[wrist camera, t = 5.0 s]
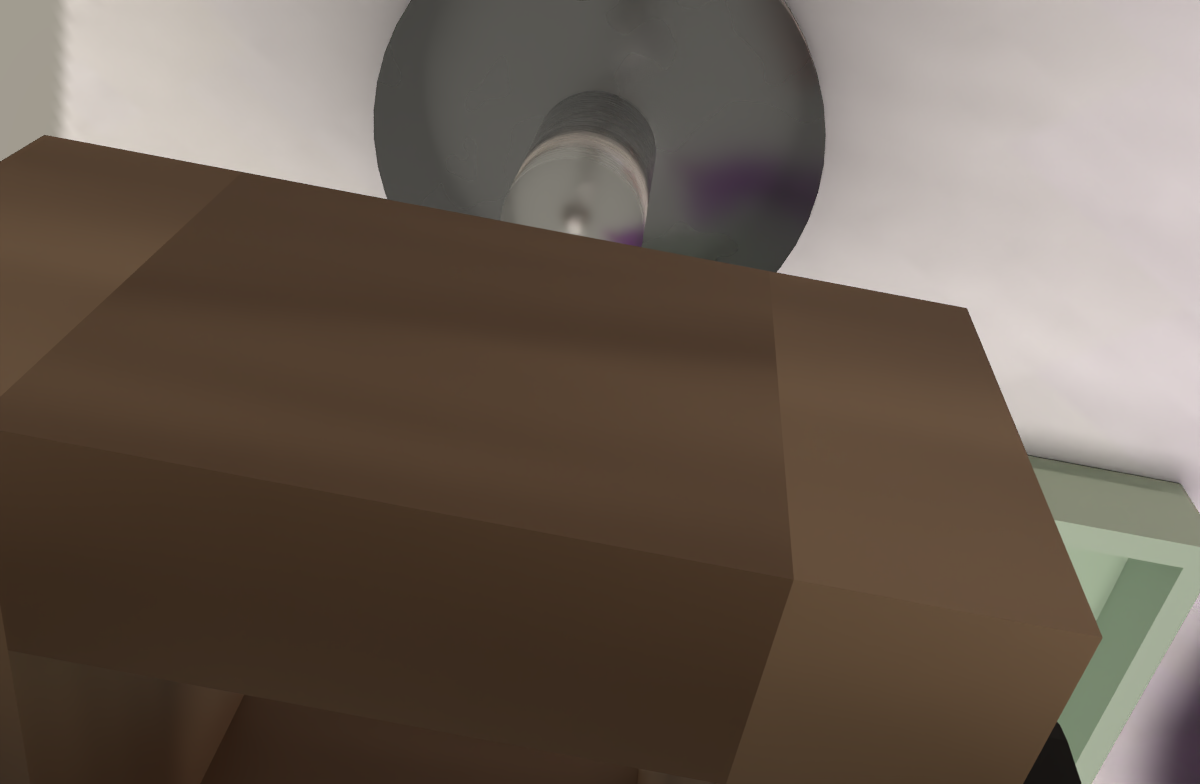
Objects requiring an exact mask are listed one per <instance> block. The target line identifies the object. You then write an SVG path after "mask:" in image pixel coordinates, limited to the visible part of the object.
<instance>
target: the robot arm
mask: <svg viewBox="0 0 1200 784" xmlns="http://www.w3.org/2000/svg"><path fill="white" fill-rule="evenodd" d="M1023 784H1082V783H1081V780H1080V777H1079V774H1078V771H1077V768H1076V765H1075V762H1074V759H1073V756H1072V753H1071V750H1070V747H1069V744H1068V741H1067V739H1066V737H1065V734H1064V732H1063V730H1062V728H1061V726H1060V724H1059V723H1058V722H1056V724H1055V726H1054V728H1053V730H1052V732H1051V733H1050V735H1049V737H1048V739H1047V741H1046V743H1045V744H1044V746H1043V748H1042V750H1041V752H1040V754H1039V755H1038V757H1037V759H1036V761H1035V763H1034V765H1033V767H1032V768H1031V770H1030V772H1029V774H1028V776H1027V778H1026V779H1025V781H1024V783H1023Z"/></svg>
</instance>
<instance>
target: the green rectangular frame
mask: <svg viewBox="0 0 1200 784" xmlns="http://www.w3.org/2000/svg"><path fill="white" fill-rule="evenodd" d="M1028 458H1029V460H1030V463H1031V465H1032V468H1033V470H1034V472H1035V475H1036V477H1037V480H1038V482H1039V484H1040V487H1041V489H1042V492H1043V494H1044V497H1045V499H1046V501H1047V504H1048V506H1049V509H1050V511H1051V514H1052V516H1053V518H1054V521H1055V523H1056V526H1057V528H1058V531H1059V533H1060V535H1061V538H1062V540H1063V543H1064V545H1065V547H1066V550H1067V552H1068V555H1069V557H1070V560H1071V562H1072V564H1073V567H1074V569H1075V572H1076V574H1077V577H1078V579H1079V581H1080V584H1081V586H1082V589H1083V591H1084V593H1085V596H1086V598H1087V601H1088V603H1089V606H1090V608H1091V610H1092V613H1093V615H1094V618H1095V620H1096V623H1097V625H1098V627H1099V630H1100V632H1101V635H1102V637H1103V638H1102V640H1101V642H1100V644H1099V645H1098V647H1097V649H1096V651H1095V653H1094V655H1093V656H1092V658H1091V660H1090V662H1089V664H1088V666H1087V667H1086V669H1085V671H1084V673H1083V675H1082V677H1081V678H1080V680H1079V682H1078V684H1077V686H1076V688H1075V689H1074V691H1073V693H1072V695H1071V697H1070V699H1069V700H1068V702H1067V704H1066V706H1065V708H1064V710H1063V711H1062V713H1061V715H1060V717H1059V719H1058V721H1057V722H1058V723H1059V724H1060V726H1061V728H1062V730H1063V732H1064V734H1065V737H1066V739H1067V741H1068V744H1069V747H1070V750H1071V753H1072V756H1073V759H1074V762H1075V765H1076V768H1077V771H1078V774H1079V777H1080V780H1081V783H1082V784H1092V782H1093V780H1094V778H1095V777H1096V775H1097V773H1098V771H1099V769H1100V768H1101V766H1102V764H1103V762H1104V761H1105V759H1106V757H1107V755H1108V754H1109V752H1110V750H1111V748H1112V747H1113V745H1114V743H1115V741H1116V740H1117V738H1118V736H1119V734H1120V733H1121V731H1122V729H1123V727H1124V725H1125V724H1126V722H1127V720H1128V718H1129V717H1130V715H1131V713H1132V711H1133V710H1134V708H1135V706H1136V704H1137V703H1138V701H1139V699H1140V697H1141V696H1142V694H1143V692H1144V690H1145V689H1146V687H1147V685H1148V683H1149V681H1150V680H1151V678H1152V676H1153V674H1154V673H1155V671H1156V669H1157V667H1158V666H1159V664H1160V662H1161V660H1162V659H1163V657H1164V655H1165V653H1166V652H1167V650H1168V648H1169V646H1170V644H1171V643H1172V641H1173V639H1174V637H1175V636H1176V634H1177V632H1178V630H1179V629H1180V627H1181V625H1182V623H1183V622H1184V620H1185V618H1186V616H1187V615H1188V613H1189V611H1190V609H1191V608H1192V606H1193V604H1194V602H1195V600H1196V599H1197V597H1198V595H1199V593H1200V514H1199V512H1198V510H1197V509H1196V507H1195V506H1194V504H1193V502H1192V501H1191V499H1190V498H1189V496H1188V494H1187V493H1186V491H1185V490H1184V488H1183V487H1182V485H1181V484H1178V483H1172V482H1167V481H1162V480H1156V479H1151V478H1146V477H1140V476H1135V475H1129V474H1124V473H1119V472H1113V471H1108V470H1103V469H1097V468H1092V467H1086V466H1081V465H1076V464H1070V463H1065V462H1059V461H1054V460H1049V459H1043V458H1038V457H1033V456H1028Z"/></svg>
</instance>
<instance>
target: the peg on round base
mask: <svg viewBox="0 0 1200 784" xmlns="http://www.w3.org/2000/svg"><path fill="white" fill-rule="evenodd" d="M825 135H826V134H825V120H824V106H823V100H822V96H821V91H820V86H819V81H818V77H817V73H816V69H815V66H814V63H813V60H812V58H811V55H810V52H809V49H808V46H807V44H806V41H805V38H804V36H803V34H802V32H801V30H800V28H799V26H798V24H797V22H796V20H795V18H794V16H793V15H792V13H791V11H790V9H789V7H788V6H787V5H786V3H785V2H784V0H411V1H410V3H409V5H408V7H407V8H406V10H405V12H404V13H403V15H402V17H401V18H400V20H399V22H398V23H397V25H396V27H395V30H394V32H393V35H392V37H391V39H390V42H389V44H388V46H387V49H386V51H385V54H384V58H383V62H382V66H381V69H380V73H379V77H378V81H377V88H376V96H375V105H374V141H375V148H376V156H377V163H378V168H379V172H380V176H381V179H382V183H383V187H384V190H385V194H386V196H387V199H388V200H393V201H398V202H404V203H409V204H414V205H420V206H425V207H430V208H436V209H441V210H446V211H452V212H457V213H462V214H467V215H473V216H478V217H483V218H489V219H494V220H499V221H505V222H510V223H515V224H521V225H526V226H531V227H537V228H542V229H547V230H553V231H558V232H563V233H569V234H574V235H579V236H585V237H590V238H595V239H601V240H606V241H611V242H616V243H622V244H627V245H632V246H638V247H643V248H648V249H654V250H659V251H664V252H670V253H675V254H680V255H686V256H691V257H696V258H702V259H707V260H712V261H718V262H723V263H728V264H734V265H739V266H744V267H749V268H755V269H760V270H765V271H771V272H777V271H778V270H779V268H780V267H781V266H782V264H783V263H784V261H785V260H786V258H787V257H788V256H789V254H790V253H791V251H792V250H793V248H794V247H795V245H796V243H797V241H798V239H799V237H800V235H801V234H802V232H803V230H804V228H805V226H806V224H807V222H808V220H809V217H810V214H811V211H812V208H813V205H814V202H815V199H816V197H817V194H818V190H819V185H820V180H821V175H822V170H823V165H824V151H825Z"/></svg>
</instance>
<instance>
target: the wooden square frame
mask: <svg viewBox="0 0 1200 784" xmlns="http://www.w3.org/2000/svg"><path fill="white" fill-rule="evenodd" d="M1102 638H1103V637H1102V635H1101V632H1100V630H1099V627H1098V625H1097V623H1096V620H1095V618H1094V615H1093V613H1092V610H1091V608H1090V606H1089V603H1088V601H1087V598H1086V596H1085V593H1084V591H1083V589H1082V586H1081V584H1080V581H1079V579H1078V577H1077V574H1076V572H1075V569H1074V567H1073V564H1072V562H1071V560H1070V557H1069V555H1068V552H1067V550H1066V547H1065V545H1064V543H1063V540H1062V538H1061V535H1060V533H1059V531H1058V528H1057V526H1056V523H1055V521H1054V518H1053V516H1052V514H1051V511H1050V509H1049V506H1048V504H1047V501H1046V499H1045V497H1044V494H1043V492H1042V489H1041V487H1040V484H1039V482H1038V480H1037V477H1036V475H1035V472H1034V470H1033V468H1032V465H1031V463H1030V460H1029V458H1028V455H1027V453H1026V451H1025V448H1024V446H1023V443H1022V441H1021V438H1020V436H1019V434H1018V431H1017V429H1016V426H1015V424H1014V421H1013V419H1012V417H1011V414H1010V412H1009V409H1008V407H1007V405H1006V402H1005V400H1004V397H1003V395H1002V392H1001V390H1000V388H999V385H998V383H997V380H996V378H995V375H994V373H993V371H992V368H991V366H990V363H989V361H988V358H987V356H986V354H985V351H984V349H983V346H982V344H981V342H980V339H979V337H978V334H977V332H976V329H975V327H974V325H973V322H972V320H971V317H970V315H969V312H968V310H967V308H962V307H957V306H952V305H946V304H941V303H936V302H930V301H925V300H920V299H914V298H909V297H904V296H898V295H893V294H888V293H883V292H877V291H872V290H867V289H861V288H856V287H851V286H845V285H840V284H835V283H829V282H824V281H819V280H813V279H808V278H803V277H797V276H792V275H787V274H781V273H776V272H771V271H765V270H760V269H755V268H749V267H744V266H739V265H734V264H728V263H723V262H718V261H712V260H707V259H702V258H696V257H691V256H686V255H680V254H675V253H670V252H664V251H659V250H654V249H648V248H643V247H638V246H632V245H627V244H622V243H616V242H611V241H606V240H601V239H595V238H590V237H585V236H579V235H574V234H569V233H563V232H558V231H553V230H547V229H542V228H537V227H531V226H526V225H521V224H515V223H510V222H505V221H499V220H494V219H489V218H483V217H478V216H473V215H467V214H462V213H457V212H452V211H446V210H441V209H436V208H430V207H425V206H420V205H414V204H409V203H404V202H398V201H393V200H388V199H382V198H377V197H372V196H366V195H361V194H356V193H350V192H345V191H340V190H334V189H329V188H324V187H319V186H313V185H308V184H303V183H297V182H292V181H287V180H281V179H276V178H271V177H265V176H260V175H255V174H249V173H244V172H239V171H233V170H228V169H223V168H217V167H212V166H207V165H201V164H196V163H191V162H185V161H180V160H175V159H170V158H164V157H159V156H154V155H148V154H143V153H138V152H132V151H127V150H122V149H116V148H111V147H106V146H100V145H95V144H90V143H84V142H79V141H74V140H68V139H63V138H58V137H52V136H46V135H44V136H42V137H40V138H39V139H37V140H35V141H33V142H32V143H30V144H29V145H27V146H25V147H24V148H22V149H20V150H19V151H17V152H15V153H14V154H12V155H10V156H9V157H7V158H5V159H4V160H2V161H0V784H1023V783H1024V781H1025V779H1026V778H1027V776H1028V774H1029V772H1030V770H1031V768H1032V767H1033V765H1034V763H1035V761H1036V759H1037V757H1038V755H1039V754H1040V752H1041V750H1042V748H1043V746H1044V744H1045V743H1046V741H1047V739H1048V737H1049V735H1050V733H1051V732H1052V730H1053V728H1054V726H1055V724H1056V722H1057V721H1058V719H1059V717H1060V715H1061V713H1062V711H1063V710H1064V708H1065V706H1066V704H1067V702H1068V700H1069V699H1070V697H1071V695H1072V693H1073V691H1074V689H1075V688H1076V686H1077V684H1078V682H1079V680H1080V678H1081V677H1082V675H1083V673H1084V671H1085V669H1086V667H1087V666H1088V664H1089V662H1090V660H1091V658H1092V656H1093V655H1094V653H1095V651H1096V649H1097V647H1098V645H1099V644H1100V642H1101V640H1102Z"/></svg>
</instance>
